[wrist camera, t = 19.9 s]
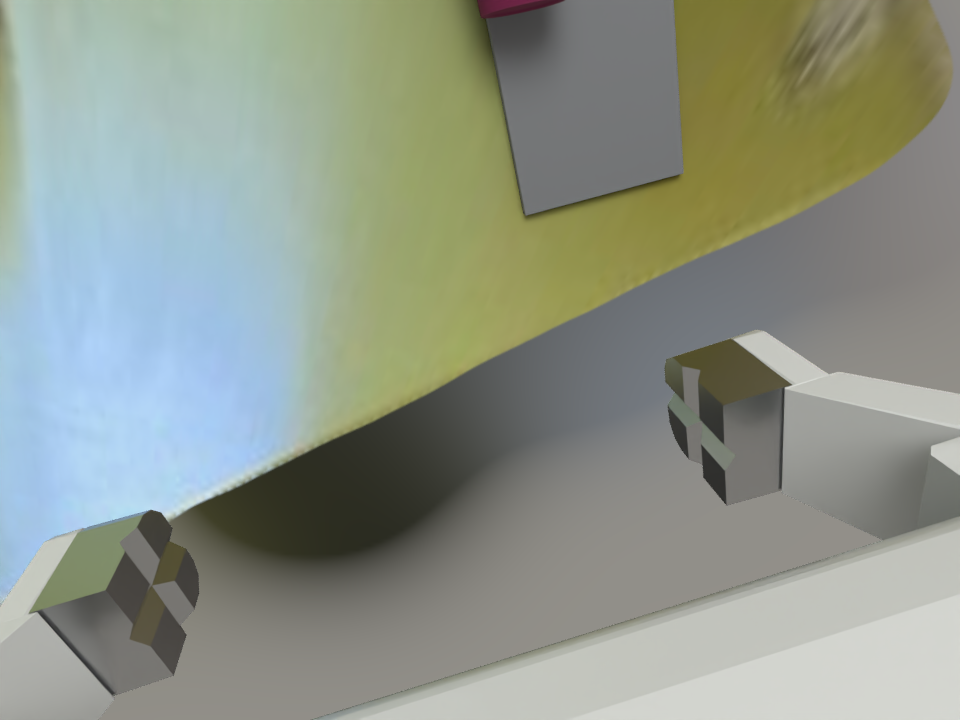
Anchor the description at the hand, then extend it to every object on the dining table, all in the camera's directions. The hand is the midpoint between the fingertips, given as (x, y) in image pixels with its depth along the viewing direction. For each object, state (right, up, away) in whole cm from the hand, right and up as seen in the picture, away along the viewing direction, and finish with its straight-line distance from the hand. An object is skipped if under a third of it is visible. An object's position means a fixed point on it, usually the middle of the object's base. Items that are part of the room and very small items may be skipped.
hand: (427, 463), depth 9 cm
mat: (+8, +23, +30) cm, 38 cm away
